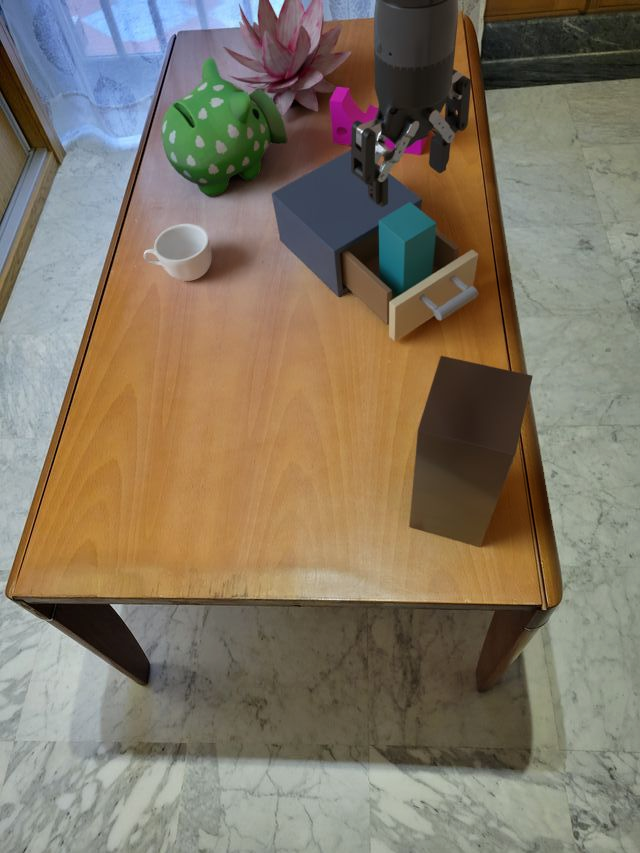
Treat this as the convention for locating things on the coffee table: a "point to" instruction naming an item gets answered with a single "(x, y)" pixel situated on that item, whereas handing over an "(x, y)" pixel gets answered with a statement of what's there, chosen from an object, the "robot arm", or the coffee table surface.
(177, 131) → the piggy bank
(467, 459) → the stand
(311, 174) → the cabinet
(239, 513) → the coffee table surface
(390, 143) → the toy block
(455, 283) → the drawer
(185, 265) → the teacup
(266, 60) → the decorative flower
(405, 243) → the block
